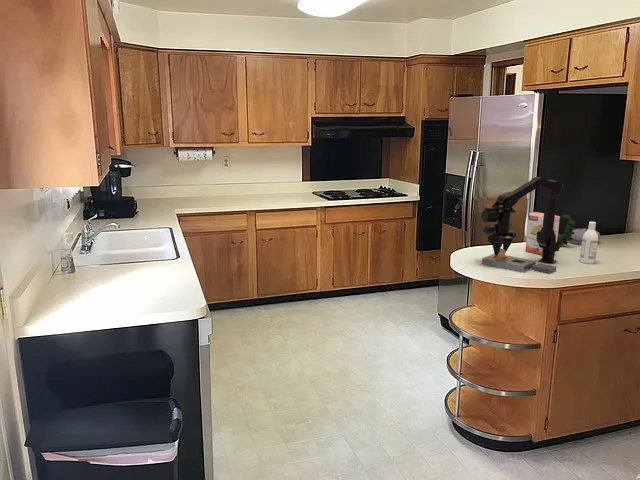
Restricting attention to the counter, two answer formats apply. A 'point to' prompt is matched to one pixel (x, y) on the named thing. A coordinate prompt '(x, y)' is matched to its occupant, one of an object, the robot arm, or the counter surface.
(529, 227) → the cracker box
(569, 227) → the toy figurine
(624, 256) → the counter surface
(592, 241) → the bath foam
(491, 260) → the plate
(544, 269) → the grey square base
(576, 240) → the grey rounded bag
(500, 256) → the barrel peg
